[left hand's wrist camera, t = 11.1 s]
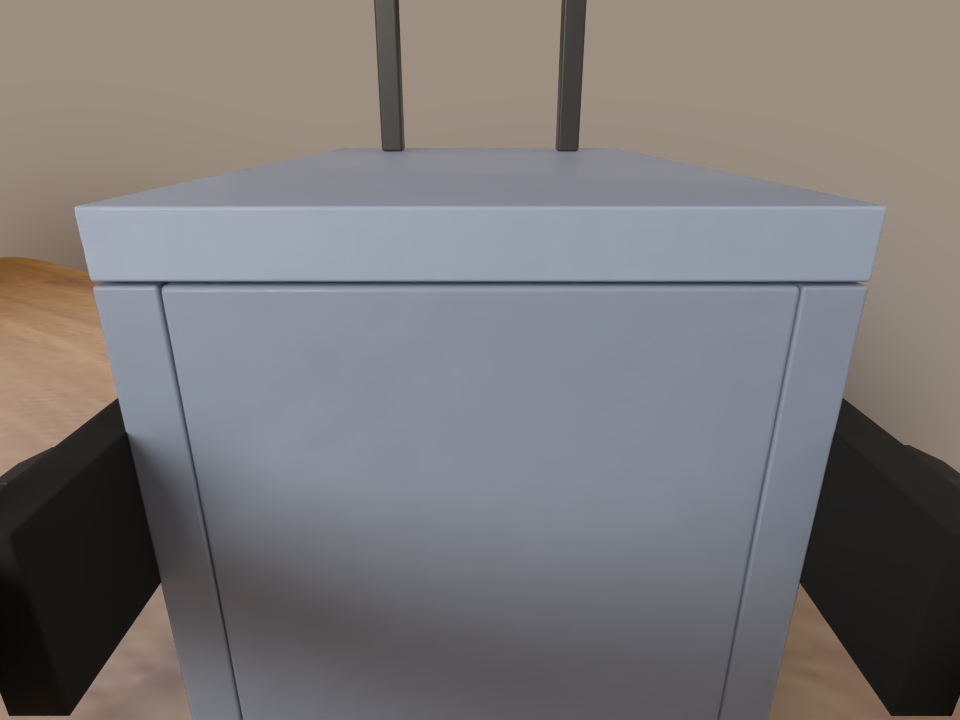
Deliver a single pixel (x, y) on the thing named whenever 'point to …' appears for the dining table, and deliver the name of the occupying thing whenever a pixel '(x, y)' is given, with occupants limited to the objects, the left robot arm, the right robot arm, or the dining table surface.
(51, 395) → the dining table surface
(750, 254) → the lid
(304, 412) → the chest
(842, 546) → the left robot arm
